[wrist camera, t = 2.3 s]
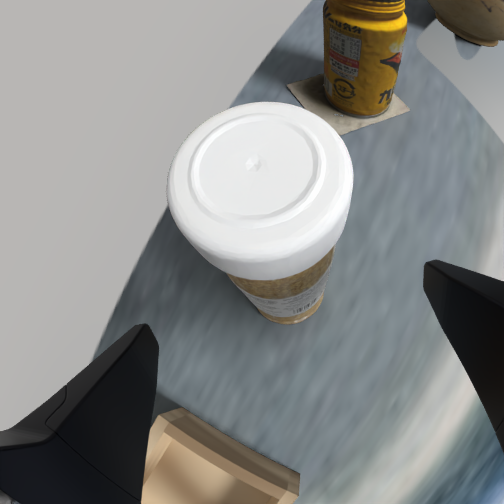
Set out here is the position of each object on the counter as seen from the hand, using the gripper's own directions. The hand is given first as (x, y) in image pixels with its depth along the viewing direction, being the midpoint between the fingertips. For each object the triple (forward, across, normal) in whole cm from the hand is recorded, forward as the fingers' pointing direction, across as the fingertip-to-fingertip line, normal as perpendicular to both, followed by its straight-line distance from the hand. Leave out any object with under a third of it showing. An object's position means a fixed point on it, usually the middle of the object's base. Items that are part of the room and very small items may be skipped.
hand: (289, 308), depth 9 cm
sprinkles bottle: (+9, 0, +5) cm, 11 cm away
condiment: (+20, -9, -5) cm, 22 cm away
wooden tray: (-5, +13, +18) cm, 23 cm away
